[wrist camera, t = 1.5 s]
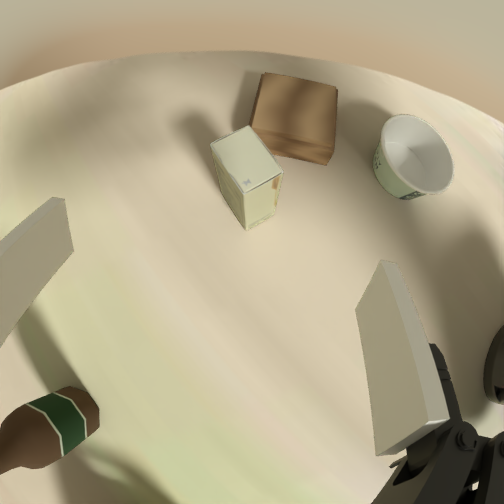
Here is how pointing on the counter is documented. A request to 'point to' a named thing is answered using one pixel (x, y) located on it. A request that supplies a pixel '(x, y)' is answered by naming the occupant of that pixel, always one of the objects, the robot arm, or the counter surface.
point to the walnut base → (296, 117)
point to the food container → (412, 158)
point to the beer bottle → (46, 429)
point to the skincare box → (247, 176)
